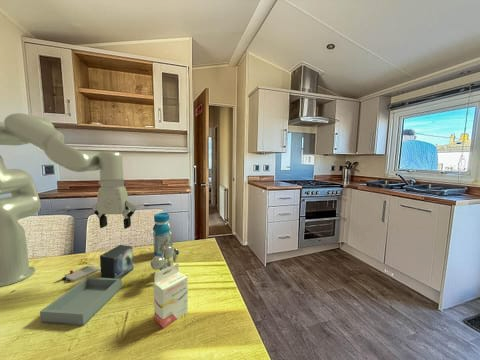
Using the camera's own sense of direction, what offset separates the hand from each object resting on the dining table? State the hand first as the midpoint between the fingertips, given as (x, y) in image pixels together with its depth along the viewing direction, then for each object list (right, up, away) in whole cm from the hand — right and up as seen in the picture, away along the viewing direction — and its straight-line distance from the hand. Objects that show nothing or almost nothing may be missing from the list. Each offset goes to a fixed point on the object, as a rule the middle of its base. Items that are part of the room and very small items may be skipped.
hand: (115, 227), depth 81 cm
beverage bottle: (+11, -18, +21) cm, 29 cm away
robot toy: (+20, -20, +1) cm, 28 cm away
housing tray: (-1, -22, -13) cm, 26 cm away
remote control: (-16, -21, +2) cm, 26 cm away
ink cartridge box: (+28, -23, -18) cm, 41 cm away
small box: (0, -20, +2) cm, 20 cm away
